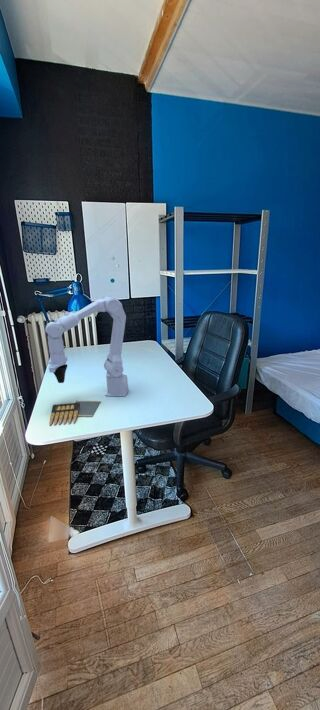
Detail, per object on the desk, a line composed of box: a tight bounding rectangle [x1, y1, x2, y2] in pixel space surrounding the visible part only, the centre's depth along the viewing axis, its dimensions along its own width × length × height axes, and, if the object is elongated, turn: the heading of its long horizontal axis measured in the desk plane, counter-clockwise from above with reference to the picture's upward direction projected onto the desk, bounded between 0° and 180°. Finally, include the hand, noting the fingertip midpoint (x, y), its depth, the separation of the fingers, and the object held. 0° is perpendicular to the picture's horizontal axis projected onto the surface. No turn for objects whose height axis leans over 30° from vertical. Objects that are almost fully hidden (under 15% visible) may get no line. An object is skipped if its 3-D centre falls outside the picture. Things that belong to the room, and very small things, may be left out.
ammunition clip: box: [48, 402, 80, 426], centre depth 117 cm, size 11×2×12 cm
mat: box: [68, 400, 101, 418], centre depth 124 cm, size 11×13×1 cm
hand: (61, 382), depth 125 cm, fingers closed
